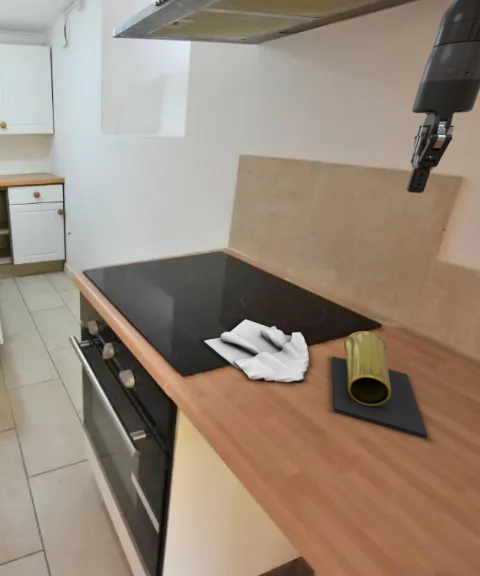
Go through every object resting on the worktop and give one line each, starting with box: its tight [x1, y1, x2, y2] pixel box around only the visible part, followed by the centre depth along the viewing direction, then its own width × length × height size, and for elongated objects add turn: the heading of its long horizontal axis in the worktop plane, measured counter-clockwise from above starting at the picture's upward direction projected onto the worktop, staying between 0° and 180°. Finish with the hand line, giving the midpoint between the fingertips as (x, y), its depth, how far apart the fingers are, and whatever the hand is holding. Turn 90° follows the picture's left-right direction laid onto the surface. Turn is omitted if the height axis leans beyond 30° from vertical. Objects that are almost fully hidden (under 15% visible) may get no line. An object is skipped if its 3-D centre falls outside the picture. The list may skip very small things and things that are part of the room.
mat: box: [331, 356, 428, 438], centre depth 61 cm, size 11×16×1 cm
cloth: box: [203, 318, 310, 384], centre depth 73 cm, size 20×22×2 cm
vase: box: [343, 330, 391, 406], centre depth 62 cm, size 6×6×14 cm
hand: (414, 191), depth 66 cm, fingers closed
